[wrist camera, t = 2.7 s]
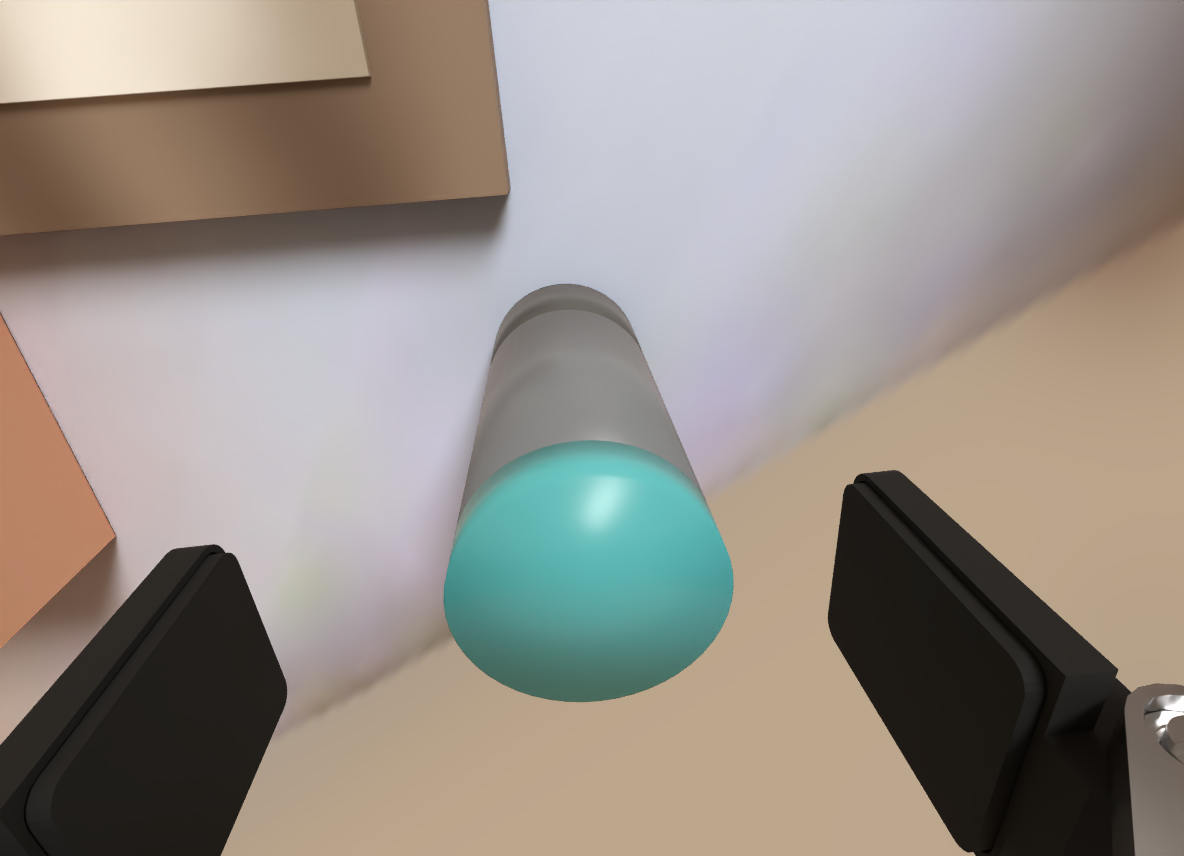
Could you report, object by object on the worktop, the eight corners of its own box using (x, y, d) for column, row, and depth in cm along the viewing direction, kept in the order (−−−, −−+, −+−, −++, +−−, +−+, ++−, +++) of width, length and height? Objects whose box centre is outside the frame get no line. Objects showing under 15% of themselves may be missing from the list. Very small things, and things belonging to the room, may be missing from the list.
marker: (633, 277, 17) (739, 463, 8) (638, 411, 18) (728, 687, 9) (485, 290, 16) (416, 494, 8) (504, 423, 18) (469, 714, 9)
